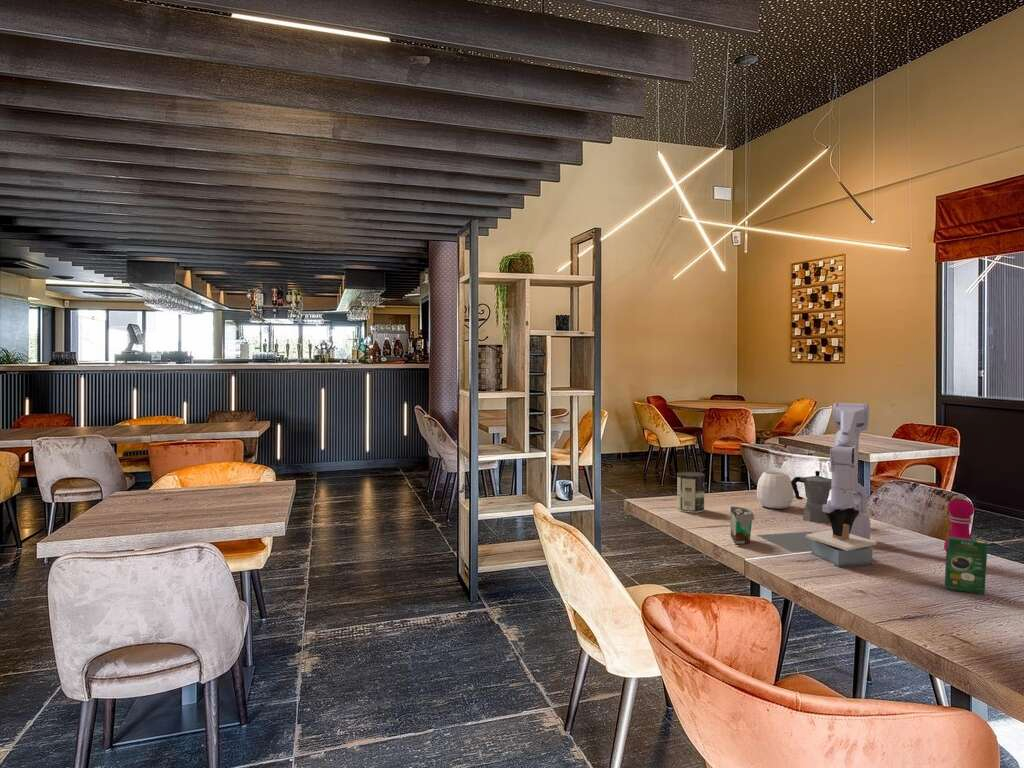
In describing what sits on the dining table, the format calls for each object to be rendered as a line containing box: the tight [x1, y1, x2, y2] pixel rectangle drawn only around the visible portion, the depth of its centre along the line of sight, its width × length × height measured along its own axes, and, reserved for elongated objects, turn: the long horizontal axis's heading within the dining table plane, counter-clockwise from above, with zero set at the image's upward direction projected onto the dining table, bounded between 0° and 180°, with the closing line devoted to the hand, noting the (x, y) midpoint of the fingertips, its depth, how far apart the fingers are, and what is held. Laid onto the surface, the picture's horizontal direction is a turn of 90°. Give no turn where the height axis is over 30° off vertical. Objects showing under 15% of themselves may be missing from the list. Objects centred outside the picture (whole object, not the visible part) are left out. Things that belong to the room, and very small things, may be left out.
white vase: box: [756, 470, 794, 510], centre depth 240 cm, size 13×13×14 cm
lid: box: [806, 524, 878, 551], centre depth 176 cm, size 13×13×5 cm
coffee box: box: [944, 535, 988, 595], centre depth 152 cm, size 8×3×13 cm, turn 62°
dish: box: [810, 540, 874, 568], centre depth 176 cm, size 11×11×4 cm
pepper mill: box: [943, 493, 975, 553], centre depth 172 cm, size 7×7×20 cm
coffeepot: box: [791, 470, 832, 524], centre depth 220 cm, size 15×9×18 cm, turn 79°
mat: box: [756, 531, 813, 553], centre depth 193 cm, size 20×18×1 cm
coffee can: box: [676, 471, 706, 514], centre depth 235 cm, size 10×10×14 cm
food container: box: [730, 506, 755, 546], centre depth 193 cm, size 12×6×10 cm, turn 168°
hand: (841, 534), depth 176 cm, fingers closed on lid, 3 cm apart
